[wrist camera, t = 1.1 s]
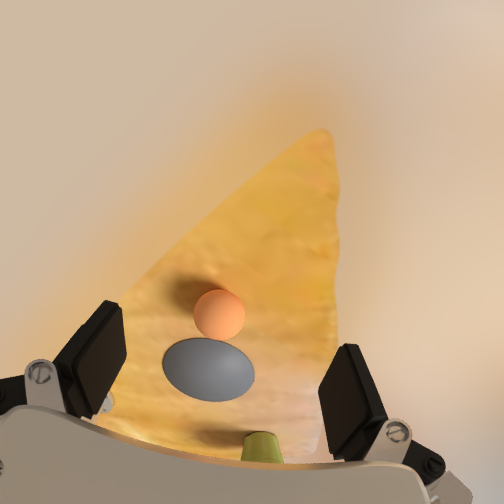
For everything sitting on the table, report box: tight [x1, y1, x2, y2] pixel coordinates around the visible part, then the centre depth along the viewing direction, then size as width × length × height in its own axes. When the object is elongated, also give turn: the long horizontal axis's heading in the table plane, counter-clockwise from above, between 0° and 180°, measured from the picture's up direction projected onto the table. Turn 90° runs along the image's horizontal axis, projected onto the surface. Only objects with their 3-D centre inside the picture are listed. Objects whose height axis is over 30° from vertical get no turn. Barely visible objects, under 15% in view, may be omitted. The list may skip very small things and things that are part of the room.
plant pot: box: [241, 432, 284, 464], centre depth 38 cm, size 9×9×9 cm
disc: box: [163, 338, 254, 402], centre depth 35 cm, size 13×13×1 cm
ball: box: [194, 289, 245, 340], centre depth 28 cm, size 6×6×6 cm
